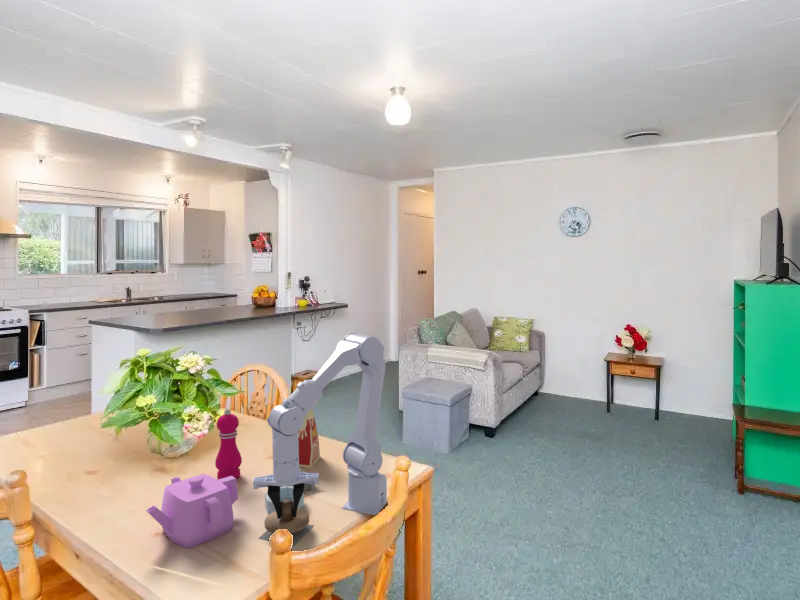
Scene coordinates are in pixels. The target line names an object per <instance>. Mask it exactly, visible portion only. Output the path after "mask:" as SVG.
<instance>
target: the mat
mask: <svg viewBox="0 0 800 600" xmlns="http://www.w3.org/2000/svg"><path fill="white" fill-rule="evenodd" d="M314 526H315V525H314V524H309V523H308V525H307V526H306V527H305V528H303V529H302V530H300V531H297V532H294V533H291V534H292V535H293V546H292V547H295V545H297V543H298V542H299V541H301V540H302V538H303V537H305V535H307V533H308V532H309V531H310V530H311V529H312V528H313V527H314ZM272 534H273V533H271V532H269V531H268V530H267V529H266V530H265V532H264V533H262V535H260V536H259V537H258V538H257V539H259V540H263V541H268V542H270V541H269V538H270V536H271V535H272Z"/></svg>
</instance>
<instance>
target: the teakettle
mask: <svg viewBox="0 0 800 600" xmlns="http://www.w3.org/2000/svg"><path fill="white" fill-rule="evenodd" d="M170 480H171V484H167V485H166V486H165V487H164V492H163V496H162V500H161V509H159V508H158V507H157V506H156V505H155V504H154V505H152V506H151V507H149V508H147V509H146V510H145V511H146V512H147V513H148V514H149V515H150V516H151V517H152V518H153V519H154V520H155V521H156V522H157V523H158V524H159V525H160V526H161V528H162V530H163V532H164V534H165V536H166V537H168V538H169V539H170V540H171V541H172V542H173V543H174V544H176V545H179V546H181V547H183V548H185V549H191V548H193V547H196V546H198V545H200V544H201V545H202V544H203V543H206V542H208V541H210V540H213V539H215V538H217V537H219V536H221V535H224V534H226V533H228V532H230V531H232V529H233V525H234V510H233V504H235V502H236V501H237V500H239V491H238V483H237V479H236V478H234V477H233V476H229V477H226V478H222V479H219V480H218V478H215V477H214V476H211V475H209V474H206V473H202V474H198V475H195V476H192V477H188V478H186V479H182V480H181V478H180V477H179V476H176V477H172V478H171V479H170Z"/></svg>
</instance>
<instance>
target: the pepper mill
mask: <svg viewBox="0 0 800 600" xmlns="http://www.w3.org/2000/svg"><path fill="white" fill-rule="evenodd" d="M223 412H224V414H222V415H220V416H219V417H218V418H217V421H216V428H217V429H218V438H219V439H220V445H219V449H218V452H217V454H216V457H215V465H214V466H215V468H216V469H217V472H216V474H217V475H216V476H217V478H216V479H217V480H219V479H222V478H226V477H229V476H233V477H234V478H236V480H237V479H239V478H240V476H241V468H240V466H241V465H242V463H243V462H242V461H243V460H242V459H243V458H242V456H241V452H240V450H239V448H238V446H237V442H236V440H237V439H236V437H237V435H238V430H237V429H238V427H239V425H240V422H239V418H238V416H237V415H236V414H233V413H231V412H232V411H231V409H229V408H226V409H224V411H223Z"/></svg>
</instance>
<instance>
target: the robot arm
mask: <svg viewBox="0 0 800 600" xmlns="http://www.w3.org/2000/svg"><path fill="white" fill-rule="evenodd" d="M384 352H385V346H384V344H383V343H382V342H381V341H380V339H379V338H377V337H375V336H368V335H363V334H359V333H356V332H350V333H348V334H346V335H345V336H344V337H343V338H342V340H340V341H338V343H337V345H336V349H335V350H334V352H333V353H332V354H331V355H330V357H329V358H328V359H327V360H326V361H325V363H323V365H322V366H321V367H320V369H319V370H318V371H317V372H316V374H315V375H313V377H312V379H311V378H310V379H305V380H303V381H300V382H297V384H296V387H295V388H296V389H294V390H293V392H291V394H290V395H289V396H288V397H287V398H286V399H285V398H284V399H283V401H281V402H282V403H281V404H279V405H276V406H274V408H272V410H270V412H269V415H268V417H267V420H266V421H267V424H268V426H269V427H270V428H271V430H272V431H271V432H272V433H271V434H272V466H273V467H272V473H271V474H267V475H262V476H256V477H253V479H252V490H258V489H261V488H267V493H268V496H269V498H270V499H271V501H272V503H273V505H274V507H275V510H276V513H277V519H281V502H280V487H283V486H291V485H294V486H293V517H296V514H297V508H298V504H299V501H300V499H301V497H302V495H303V494H304V493H305V491H304V486H305V484H314V485H315V486H317V485H319V481H320V480H319V476H320V475H319V472H314V473H313V472H307V473H303V472H299V468H300V467H299V446H298V430H300V429H301V427H302V425H303V420H304V418H305V417H306V416H305V415H306V414H307V413H308V412H309V411H310V410H311V409H312V410H313V408H314V406H315V405H316V404H317V403H318V402H319V401H320V399H322V397H323V394H324V393H323V389H324V388H325V387H326V386H328V384H329V383H330V382H331V381H332V380H333V379H334V378H336V376H337V375H339V374H340V372H341V371H343V370H344V369H345V368H346V367H348V366H355V365H358V367H359V368H360V369H361V370H362V371H363V373H362V379H361V386H360V391H359V392H360V393H359V401H358V408H357V413H356V414H357V415H356V422H355V428H354V432H353V433H352V434H350V435H349V436H348V438H347V443H346V445H345V447H344V449H343V450H342V451H343V452H342V459H343V461H344V463H345V464H346V466H347V476H348V477H347V478H348V479H347V483H348V487H347V488H348V489H347V490H348V491H347V493H348V495H347V497H348V499H347V501H346V503H344V504H343V506H342V507H341V508H342V510H347V511H351V512H352V511H354V512H358V513H363V514H368V515H372V516H374V515H375V516H377V515H378V514H379V513H380V512H381V510H382V509H383V508H384V506H385V505H386V504H387V503H388V498H387V497H388V496H387V493H388V491H387V475H386V474H384V473H381V472H380V469H381V468H382V467H383V466H382V465H383V459H384V458H383V455H382V447H383V446H382V444H381V442H380V440H379V438H378V436H377V430H378V423H379V417H380V409H381V402H382V393H383V388H384V380H385V373H386V368H387V367H386V362H385V358H384V354H385V353H384ZM303 492H304V493H303ZM267 493H266V494H267ZM377 513H378V514H377ZM376 514H377V515H376Z"/></svg>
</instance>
